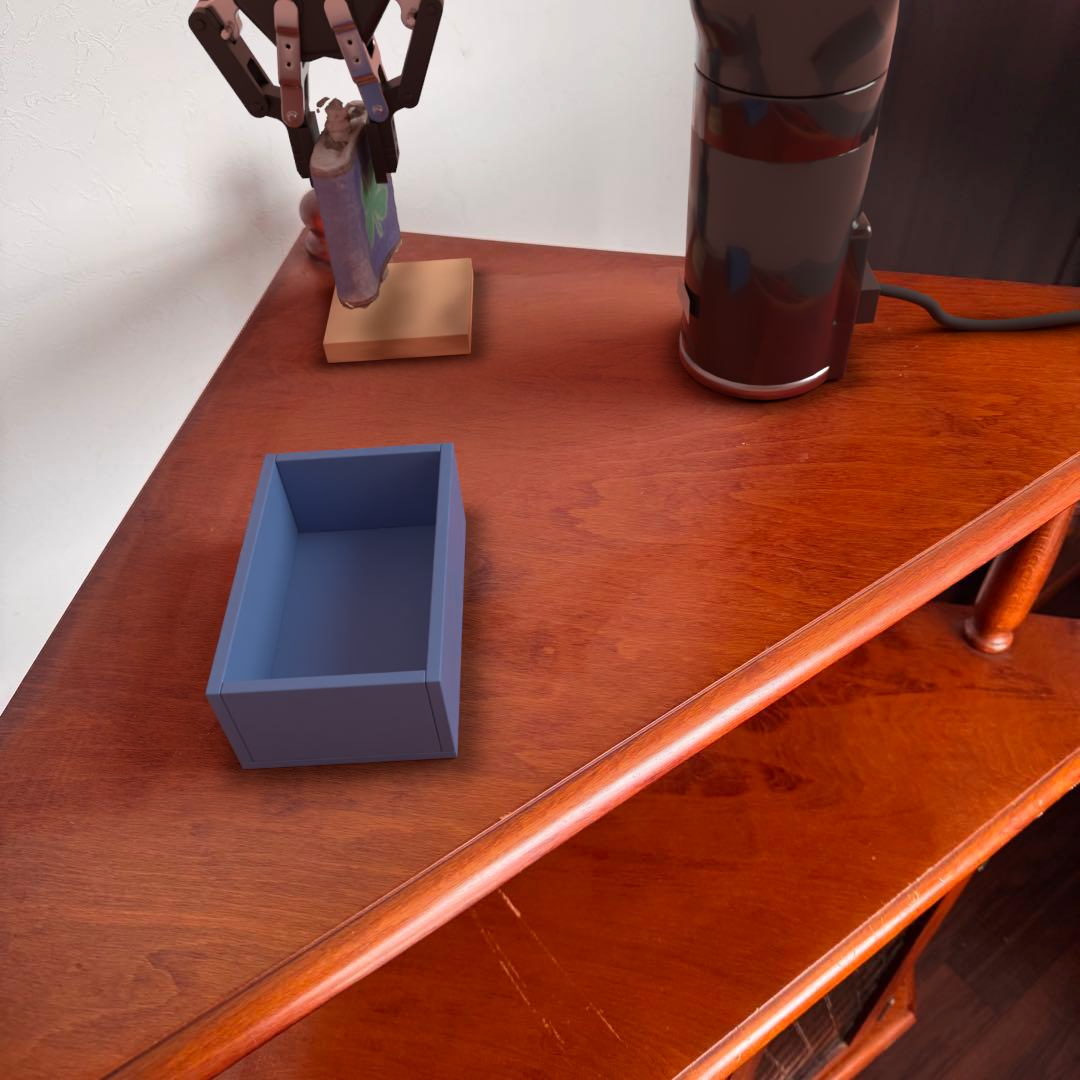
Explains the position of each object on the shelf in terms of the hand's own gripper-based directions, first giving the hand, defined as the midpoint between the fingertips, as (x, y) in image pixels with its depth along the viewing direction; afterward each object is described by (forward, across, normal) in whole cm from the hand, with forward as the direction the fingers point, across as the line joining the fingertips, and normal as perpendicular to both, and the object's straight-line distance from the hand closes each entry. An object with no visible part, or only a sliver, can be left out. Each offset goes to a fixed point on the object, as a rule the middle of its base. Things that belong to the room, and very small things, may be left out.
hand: (352, 178), depth 59 cm
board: (+10, +2, 0) cm, 10 cm away
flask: (+6, 0, 0) cm, 6 cm away
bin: (+10, +2, -27) cm, 28 cm away
